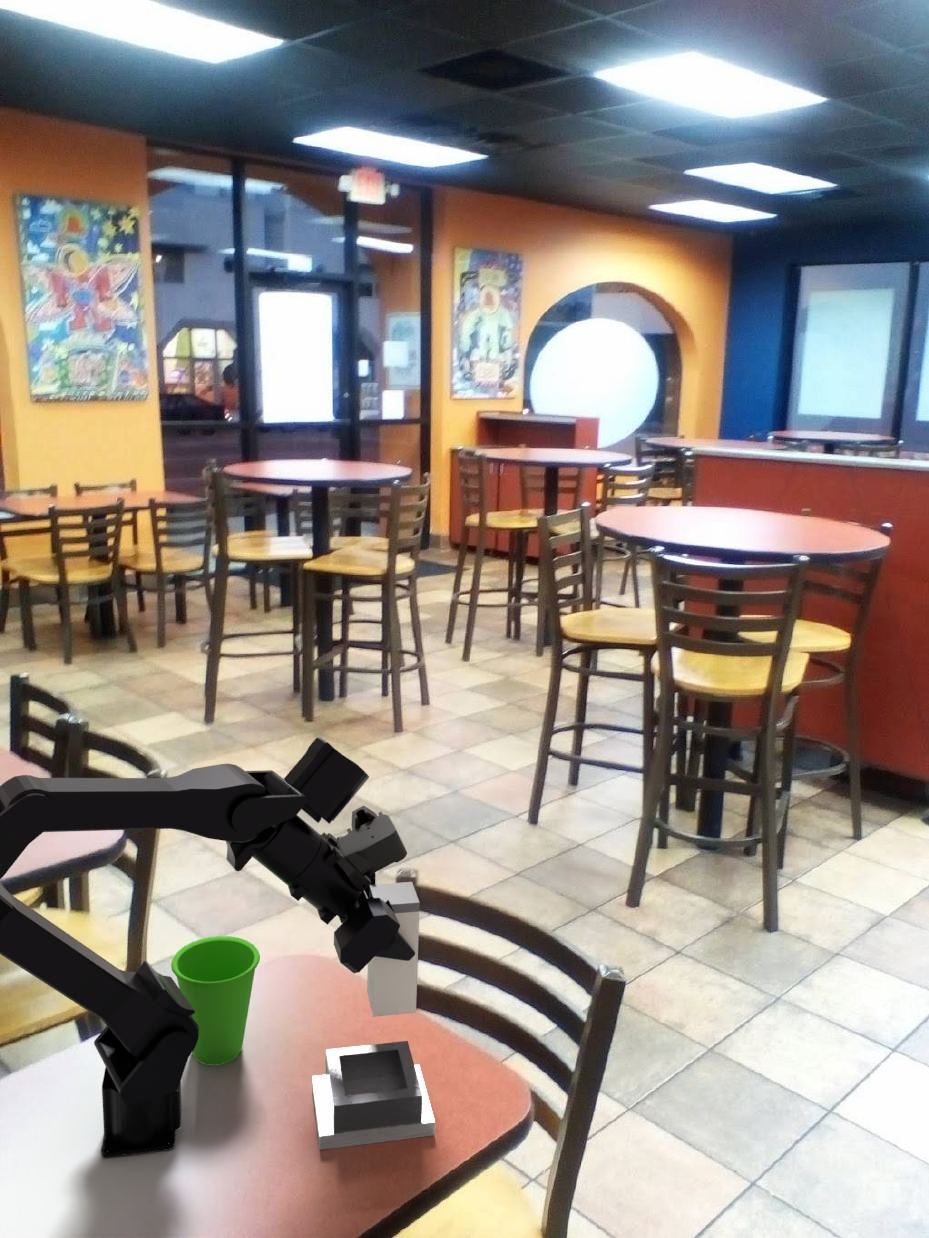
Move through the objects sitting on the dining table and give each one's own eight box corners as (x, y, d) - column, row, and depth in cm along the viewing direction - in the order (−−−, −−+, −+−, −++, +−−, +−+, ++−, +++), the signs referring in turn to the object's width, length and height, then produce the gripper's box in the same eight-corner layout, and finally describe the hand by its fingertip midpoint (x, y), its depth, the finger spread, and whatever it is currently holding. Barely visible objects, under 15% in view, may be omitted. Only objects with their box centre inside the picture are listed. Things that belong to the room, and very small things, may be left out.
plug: (372, 1016, 104) (375, 905, 101) (367, 991, 108) (369, 884, 106) (415, 1012, 105) (419, 902, 102) (408, 988, 109) (411, 881, 107)
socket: (319, 1149, 95) (320, 1108, 94) (312, 1089, 103) (312, 1050, 102) (434, 1135, 97) (436, 1094, 96) (418, 1076, 106) (419, 1038, 105)
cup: (158, 1046, 109) (155, 954, 106) (233, 1014, 115) (232, 926, 112) (199, 1090, 102) (197, 993, 100) (276, 1054, 108) (276, 961, 106)
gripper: (379, 837, 92) (489, 933, 98) (340, 764, 109) (435, 849, 115) (292, 927, 91) (407, 1017, 97) (266, 839, 108) (365, 920, 114)
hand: (405, 943), depth 106 cm, fingers closed on plug, 5 cm apart
